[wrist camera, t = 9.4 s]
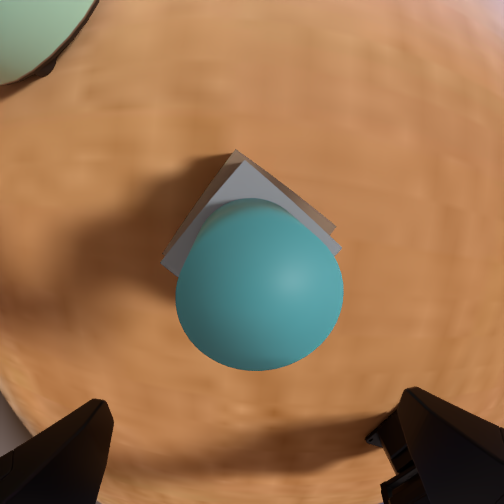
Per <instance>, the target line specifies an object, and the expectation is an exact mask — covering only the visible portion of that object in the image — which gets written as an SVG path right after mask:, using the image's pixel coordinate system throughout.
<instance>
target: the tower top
mask: <svg viewBox="0 0 504 504" xmlns="http://www.w3.org/2000/svg"><path fill="white" fill-rule="evenodd" d="M244 198H258V199H264V200H268V201H271V202H273V203H276V204H278V205H279V206H281V207H283V208H284V209H285V210H287V211H288V212H289V213H290V214H292V215H293V216H294V217H295V218H296V219H297V220H299V221H300V222H301V223H302V224H303V225H304V226H305V227H307V228H308V229H309V230H310V231H311V232H312V233H313V234H314V235H316V236H317V237H318V238H319V239H320V240H321V241H322V242H323V243H324V244H325V245H326V246H327V247H328V249H329V250H330V251H331V253H332V254H333V256H335V255H336V254H337V253H338V252H339V251H340V250H341V249H342V247H341V246H340V245H339V244H338V243H337V242H336V241H335V240H334V239H333V238H332V237H330V236H329V235H328V234H327V233H326V232H325V231H324V230H323V229H322V228H321V227H320V226H319V225H318V224H317V223H316V222H315V221H313V220H312V219H311V218H310V217H309V216H308V215H307V214H306V213H305V212H304V211H303V210H302V209H300V208H299V207H298V206H297V205H296V204H295V203H294V202H293V201H292V200H290V199H289V198H288V197H287V196H286V195H285V194H284V193H283V192H282V191H280V190H279V189H278V188H277V187H276V186H275V185H274V184H272V183H271V182H270V181H269V180H268V179H267V178H266V177H264V176H263V175H262V174H261V173H260V172H259V171H257V170H256V169H255V168H254V167H253V166H252V165H250V164H249V163H248V162H247V161H246V160H244V161H243V162H242V164H241V165H240V166H239V167H238V168H237V169H236V170H235V172H234V173H233V174H232V175H231V176H230V177H229V178H228V180H227V181H226V182H225V183H224V184H223V185H222V187H221V188H220V189H219V190H218V191H217V193H216V194H215V195H214V196H213V197H212V199H211V200H210V201H209V202H208V203H207V205H206V206H205V207H204V208H203V209H202V211H201V212H200V213H199V214H198V215H197V217H196V218H195V219H194V220H193V222H192V223H191V224H190V225H189V227H188V228H187V229H186V230H185V232H184V233H183V234H182V235H181V237H180V238H179V239H178V240H177V242H176V243H175V244H174V245H173V247H172V248H171V249H170V251H169V252H168V253H167V254H166V256H165V257H164V258H163V260H162V261H161V262H160V263H161V264H162V265H163V266H164V267H166V268H167V269H168V270H169V271H171V272H172V273H173V274H174V275H176V276H177V277H178V278H179V275H180V272H181V269H182V267H183V265H184V263H185V261H186V259H187V256H188V254H189V252H190V250H191V248H192V246H193V244H194V241H195V239H196V237H197V235H198V233H199V231H200V229H201V227H202V225H203V224H204V222H205V221H206V219H207V218H208V217H209V216H210V215H211V214H212V213H213V212H214V211H216V210H217V209H218V208H220V207H221V206H223V205H225V204H227V203H229V202H232V201H235V200H238V199H244Z"/></svg>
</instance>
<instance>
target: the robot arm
mask: <svg viewBox="0 0 504 504" xmlns="http://www.w3.org/2000/svg"><path fill="white" fill-rule="evenodd" d="M113 427H114V420H113V417H112V414H111V412H110V409H109V407H108V404H107V402H106V401H105V400H101V399H91V400H90V401H88V402H87V403H85V404H84V405H82V406H81V407H79V408H78V409H76V410H75V411H73V412H72V413H70V414H69V415H67V416H65V417H64V418H62V419H61V420H59V421H58V422H56V423H55V424H53V425H52V426H50V427H48V428H47V429H45V430H44V431H42V432H41V433H39V434H37V435H36V436H34V437H33V438H31V439H29V440H28V441H26V442H25V443H23V444H21V445H20V446H18V447H17V448H15V449H14V451H13V450H12V451H10V452H8V453H7V454H5V455H3V456H1V457H0V504H95V503H96V500H97V496H98V492H99V489H100V485H101V482H102V478H103V475H104V472H105V468H106V464H107V459H108V453H109V448H110V442H111V437H112V432H113ZM365 440H366V442H367V443H369V444H372V445H375V446H378V447H382V448H383V449H384V451H385V453H386V455H387V457H388V459H389V461H390V463H391V465H392V467H393V469H394V472H395V474H396V476H394V477H393V478H391V479H390V480H388V481H385V482H383V483H381V484H380V486H381V494H382V498H383V502H384V504H504V428H502V427H500V428H499V426H497V425H495V424H493V423H491V422H488V421H486V420H484V419H482V418H480V417H478V416H476V415H473V414H471V413H469V412H467V411H465V410H463V409H461V408H459V407H457V406H455V405H453V404H451V403H449V402H447V401H445V400H443V399H441V398H439V397H437V396H435V395H433V394H431V393H429V392H427V391H425V390H423V389H421V388H419V387H411V388H407V389H405V390H404V391H403V394H402V397H401V399H400V402H399V405H398V409H397V411H396V412H394V413H393V414H392V415H391V416H390V417H389V418H388V419H387V420H386V421H385V422H383V423H382V424H381V425H380V426H379V427H378V428H377V429H375V430H374V431H373V432H372V433H371V434H370V435H368V436H367V437H366V438H365Z"/></svg>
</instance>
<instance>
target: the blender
mask: <svg viewBox="0 0 504 504" xmlns="http://www.w3.org/2000/svg"><path fill="white" fill-rule="evenodd" d="M98 3H99V0H0V85H8V84H12V83H15V82H19V81H22V80H24V79H26V78H27V77H29V76H31V75H33V74H35V75H38V76H42V77H44V76H46V75H48V74H49V73H50V72H51V71H52V70H53V68H54V66H55V64H56V57H57V56H58V55H59V53H60V52H61V51H62V50H63V49H64V48H65V47H66V46H67V45H68V44H69V43H70V42H71V41H72V40H73V39H74V38H75V36H76V35H77V34H78V33H79V31H80V30H81V29H82V28H83V26H84V25H85V24H86V23H87V21H88V20H89V18H90V16H91V14H92V13H93V11H94V9H95V8H96V6H97V5H98Z"/></svg>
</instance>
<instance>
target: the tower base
mask: <svg viewBox="0 0 504 504" xmlns="http://www.w3.org/2000/svg"><path fill="white" fill-rule="evenodd" d="M244 160H246V161H247V162H248V163H249V164H250V165H252V166H253V167H254V168H255V169H256V170H257V171H259V172H260V173H261V174H262V175H263V176H264V177H266V178H267V179H268V180H269V181H270V182H271V183H272V184H274V185H275V186H276V187H277V188H278V189H279V190H280V191H282V192H283V193H284V194H285V195H286V196H287V197H288V198H289V199H290V200H292V201H293V202H294V203H295V204H296V205H297V206H298V207H299V208H300V209H302V210H303V211H304V212H305V213H306V214H307V215H308V216H309V217H310V218H311V219H312V220H313V221H315V222H316V223H317V224H318V225H319V226H320V227H321V228H322V229H323V230H324V231H325V232H326V233H327V234H328V235H329V236H330V234H331V233H332V232H333V230H334V229H335V228H336V226H335V225H334V224H333V223H332V222H330V221H329V220H328V219H327V218H326V217H324V216H323V215H322V214H321V213H319V212H318V211H317V210H316V209H314V208H313V207H312V206H311V205H309V204H308V203H307V202H306V201H304V200H303V199H302V198H301V197H299V196H298V195H297V194H295V193H294V192H293V191H292V190H290V189H289V188H288V187H286V186H285V185H284V184H282V183H281V182H280V181H278V180H277V179H276V178H274V177H273V176H272V175H271V174H269V173H268V172H266V171H265V170H264V169H262V168H261V167H260V166H258V165H257V164H256V163H254V162H253V161H252V160H250V159H249V158H247V157H246V156H245V155H243V154H242V153H240V152H239V151H238V150H236V149H235V151H234V152H233V153H232V155H231V156H230V157H229V159H228V160H227V161H226V163H225V164H224V165H223V167H222V168H221V169H220V171H219V172H218V173H217V175H216V176H215V178H214V179H213V180H212V182H211V183H210V184H209V186H208V187H207V189H206V190H205V191H204V193H203V194H202V196H201V197H200V199H199V200H198V201H197V203H196V204H195V206H194V207H193V209H192V210H191V211H190V213H189V214H188V216H187V217H186V219H185V220H184V222H183V223H182V225H181V226H180V228H179V229H178V231H177V232H176V234H175V235H174V237H173V238H172V240H171V241H170V243H169V244H168V246H167V247H166V249H165V250H164V252H163V253H162V254H163V255H165V256H166V254H167V253H168V252H169V251H170V249H171V248H172V247H173V245H174V244H175V243H176V242H177V240H178V239H179V238H180V237H181V235H182V234H183V233H184V232H185V230H186V229H187V228H188V227H189V225H190V224H191V223H192V222H193V220H194V219H195V218H196V217H197V215H198V214H199V213H200V212H201V211H202V209H203V208H204V207H205V206H206V205H207V203H208V202H209V201H210V200H211V199H212V197H213V196H214V195H215V194H216V193H217V191H218V190H219V189H220V188H221V187H222V185H223V184H224V183H225V182H226V181H227V180H228V178H229V177H230V176H231V175H232V174H233V173H234V172H235V170H236V169H237V168H238V167H239V166H240V165H241V164H242V162H243V161H244Z"/></svg>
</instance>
